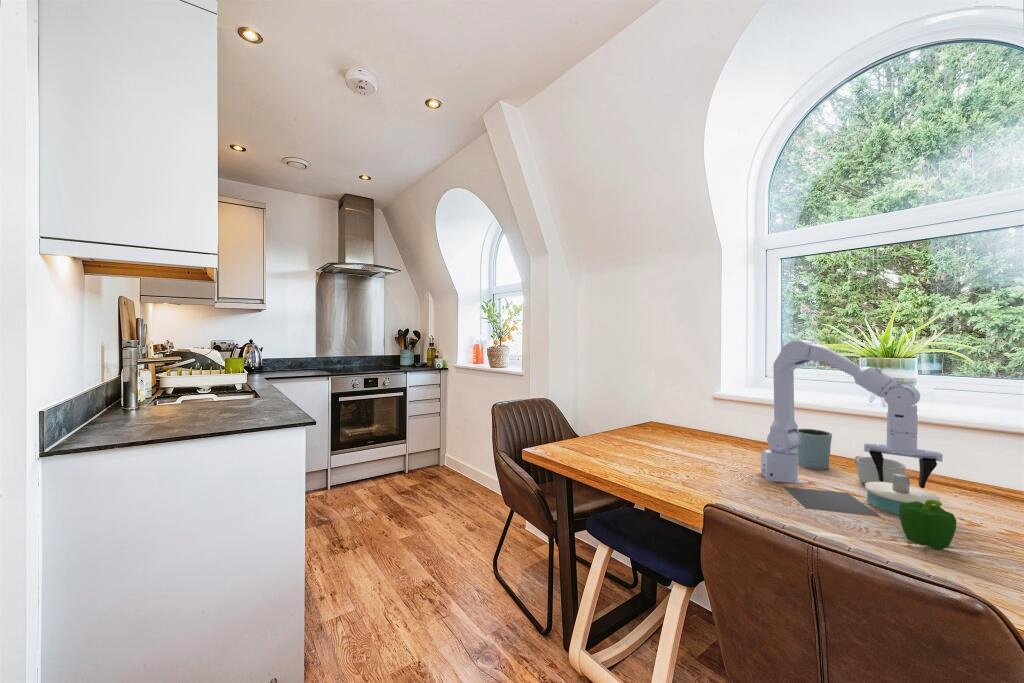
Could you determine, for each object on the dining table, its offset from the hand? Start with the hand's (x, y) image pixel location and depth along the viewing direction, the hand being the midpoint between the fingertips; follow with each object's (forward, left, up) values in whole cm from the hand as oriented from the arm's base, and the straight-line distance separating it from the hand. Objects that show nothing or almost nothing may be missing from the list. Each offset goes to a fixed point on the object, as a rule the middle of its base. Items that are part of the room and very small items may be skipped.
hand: (900, 483), depth 105 cm
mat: (-16, 0, -7) cm, 17 cm away
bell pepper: (-6, -20, -7) cm, 22 cm away
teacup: (+4, +19, -7) cm, 21 cm away
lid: (0, 0, -3) cm, 3 cm away
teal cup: (-6, +36, -7) cm, 37 cm away
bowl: (0, 0, -7) cm, 7 cm away
